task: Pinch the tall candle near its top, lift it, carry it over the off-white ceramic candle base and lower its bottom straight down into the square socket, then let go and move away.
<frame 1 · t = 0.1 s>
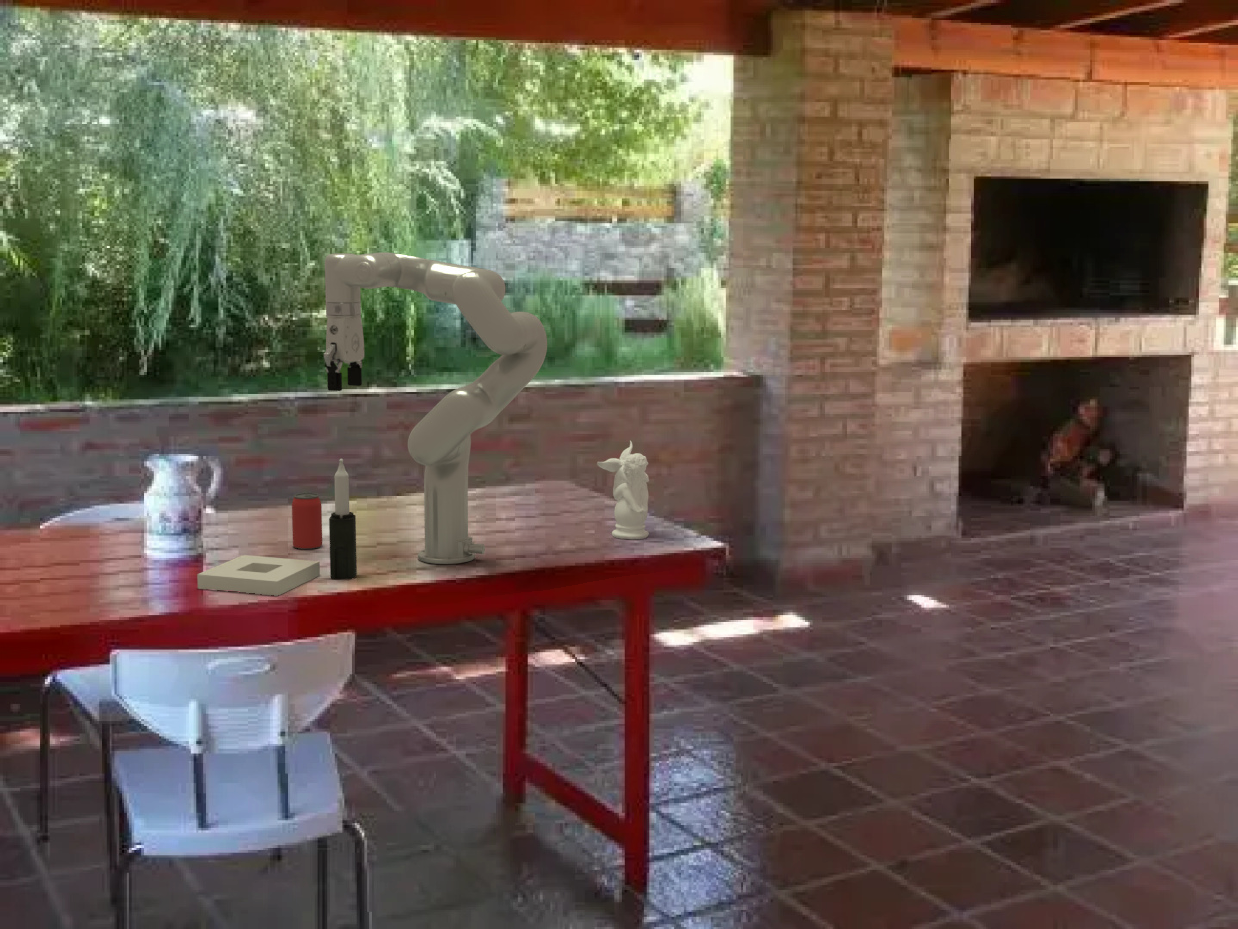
hand: (344, 387, 345), 37 cm above the table, tool pointing down, fingers open, 9 cm apart
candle: (343, 577, 328), on the table
candle base: (260, 581, 323), on the table
cherub figurine: (622, 536, 370), on the table
beer can: (307, 547, 355), on the table
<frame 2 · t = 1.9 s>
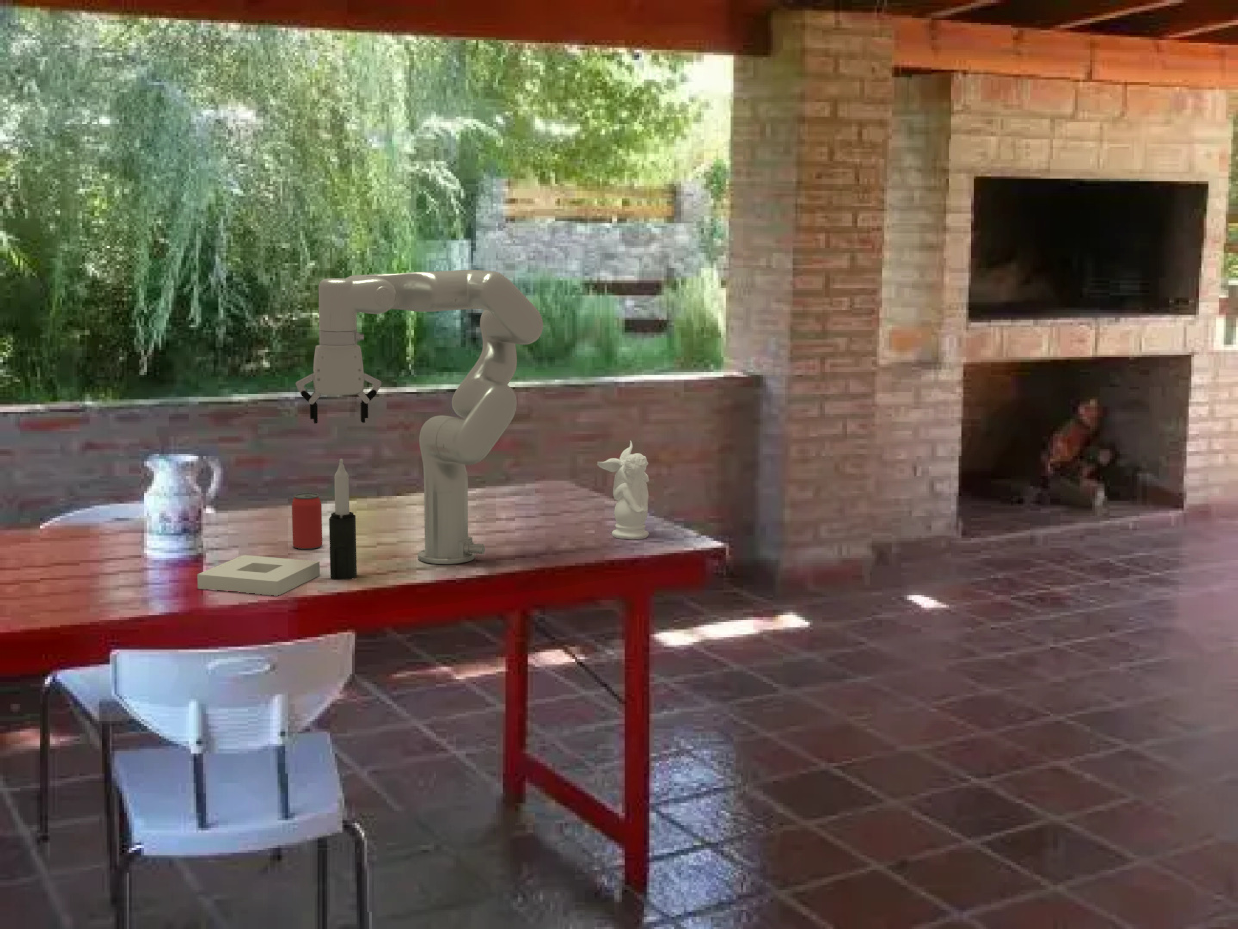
hand: (339, 422, 322), 33 cm above the table, tool pointing down, fingers open, 9 cm apart
nothing on the table moved.
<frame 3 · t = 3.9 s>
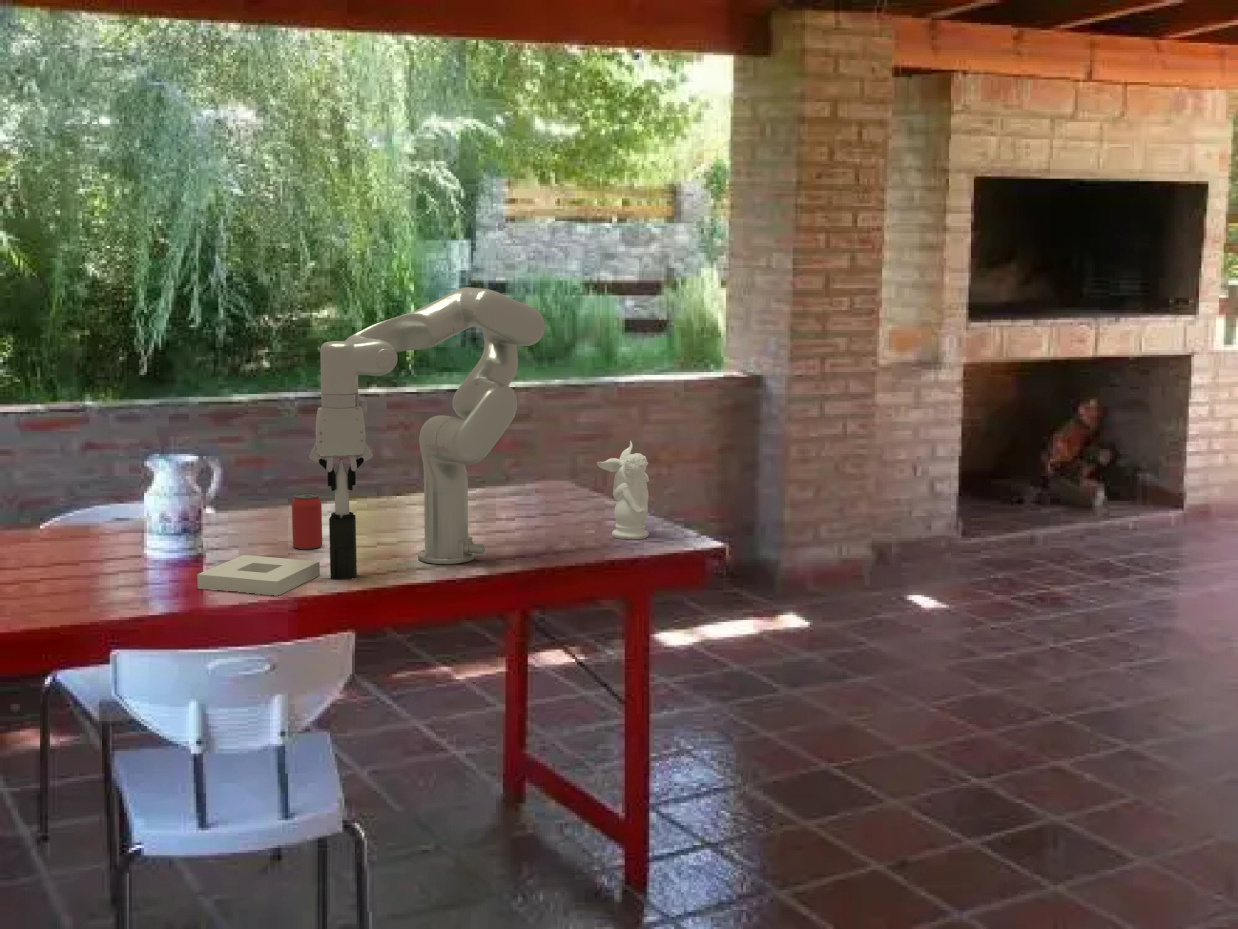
hand: (341, 488, 325), 19 cm above the table, tool pointing down, fingers closed on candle, 3 cm apart
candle: (343, 577, 328), on the table, touching gripper
everything else where it was.
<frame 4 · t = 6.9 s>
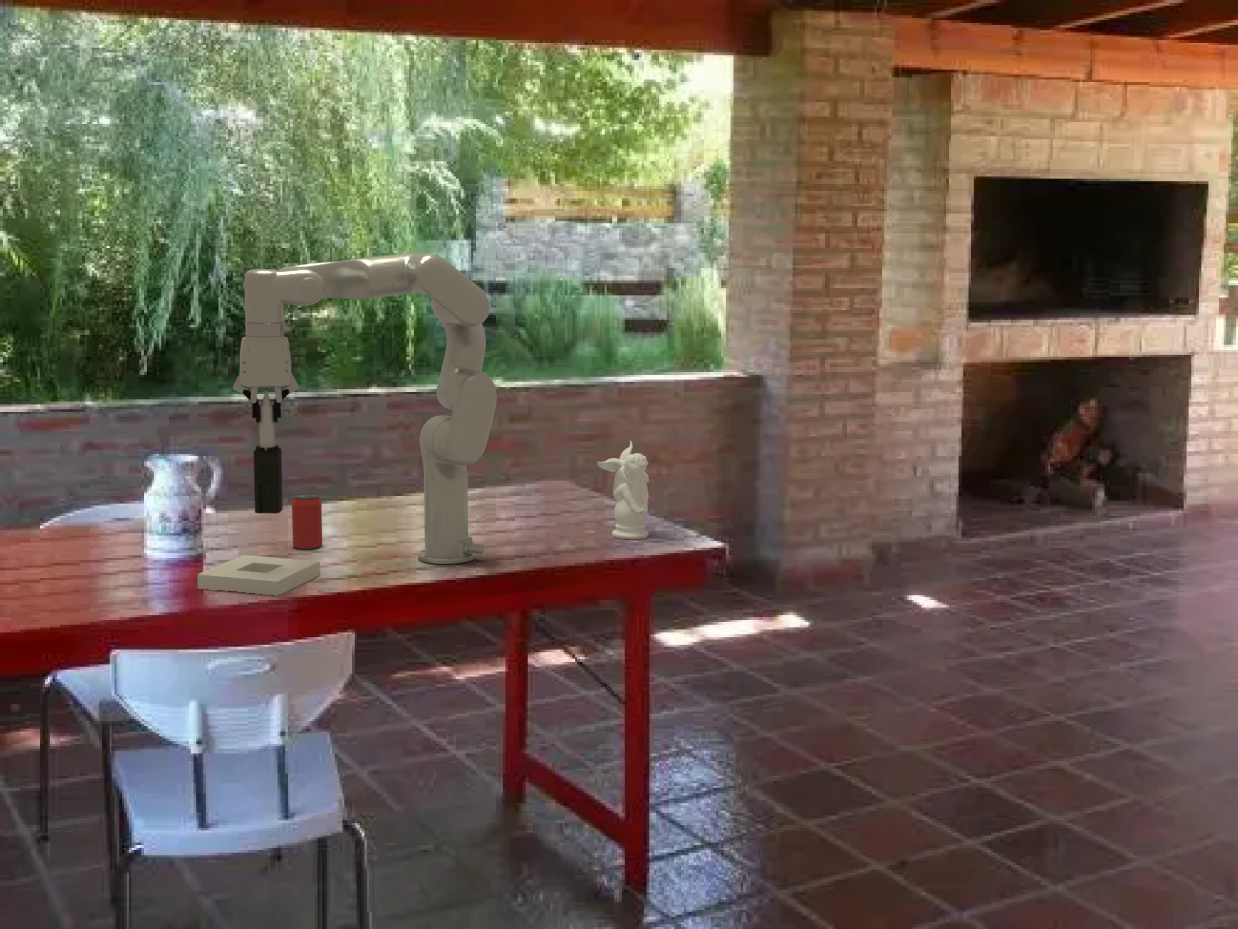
hand: (266, 420, 318), 33 cm above the table, tool pointing down, fingers closed on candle, 3 cm apart
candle: (268, 512, 321), point 15 cm above the table, touching gripper
everything else where it was.
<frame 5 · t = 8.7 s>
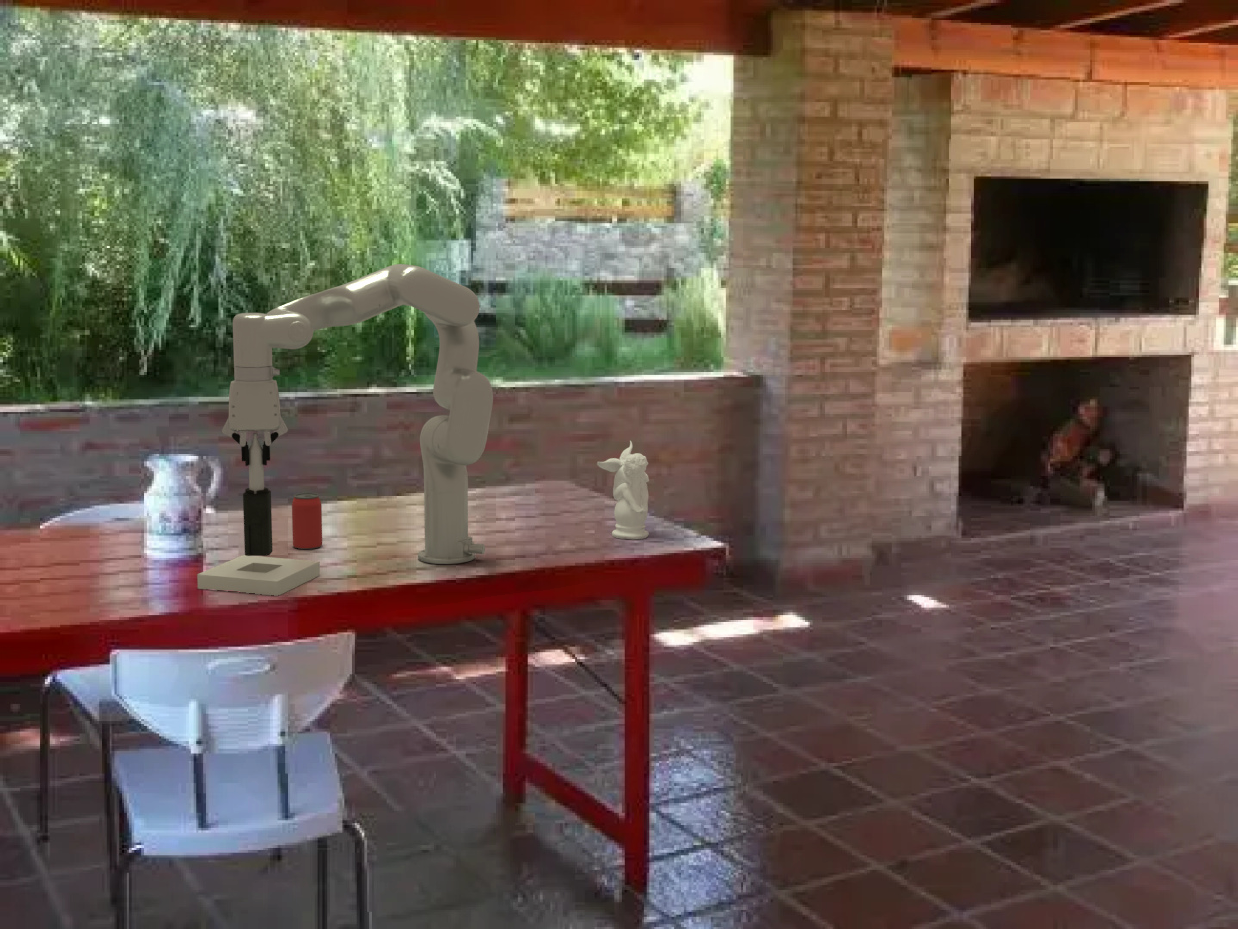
hand: (256, 463, 318), 25 cm above the table, tool pointing down, fingers closed on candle, 3 cm apart
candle: (258, 554, 322), point 6 cm above the table, touching gripper
everything else where it was.
when the fingers open (20 cm above the table, at t = 10.0 s): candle drops 1 cm, resting in candle base.
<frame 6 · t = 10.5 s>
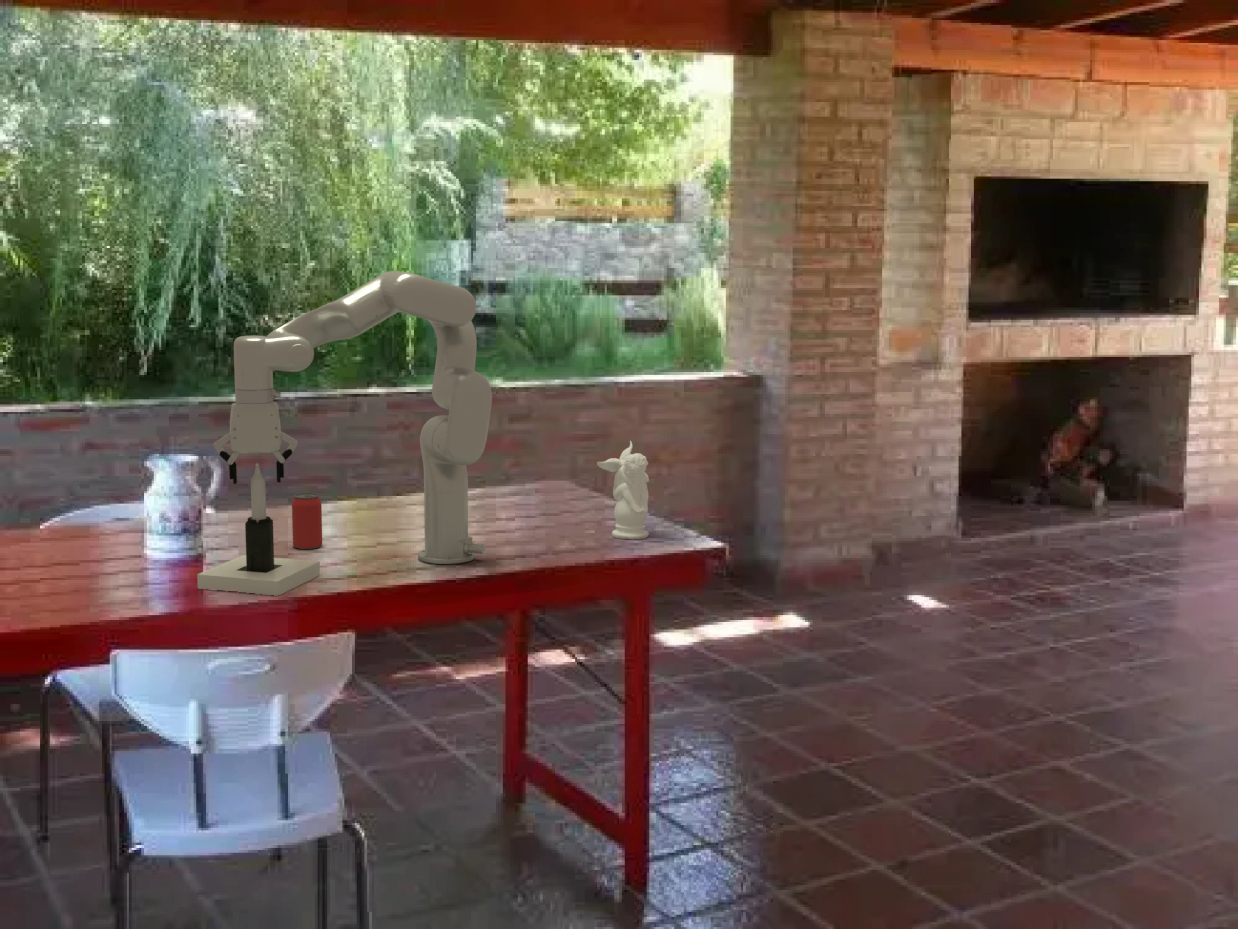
hand: (256, 481, 319), 21 cm above the table, tool pointing down, fingers open, 8 cm apart
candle: (260, 582, 323), resting in candle base
everything else where it was.
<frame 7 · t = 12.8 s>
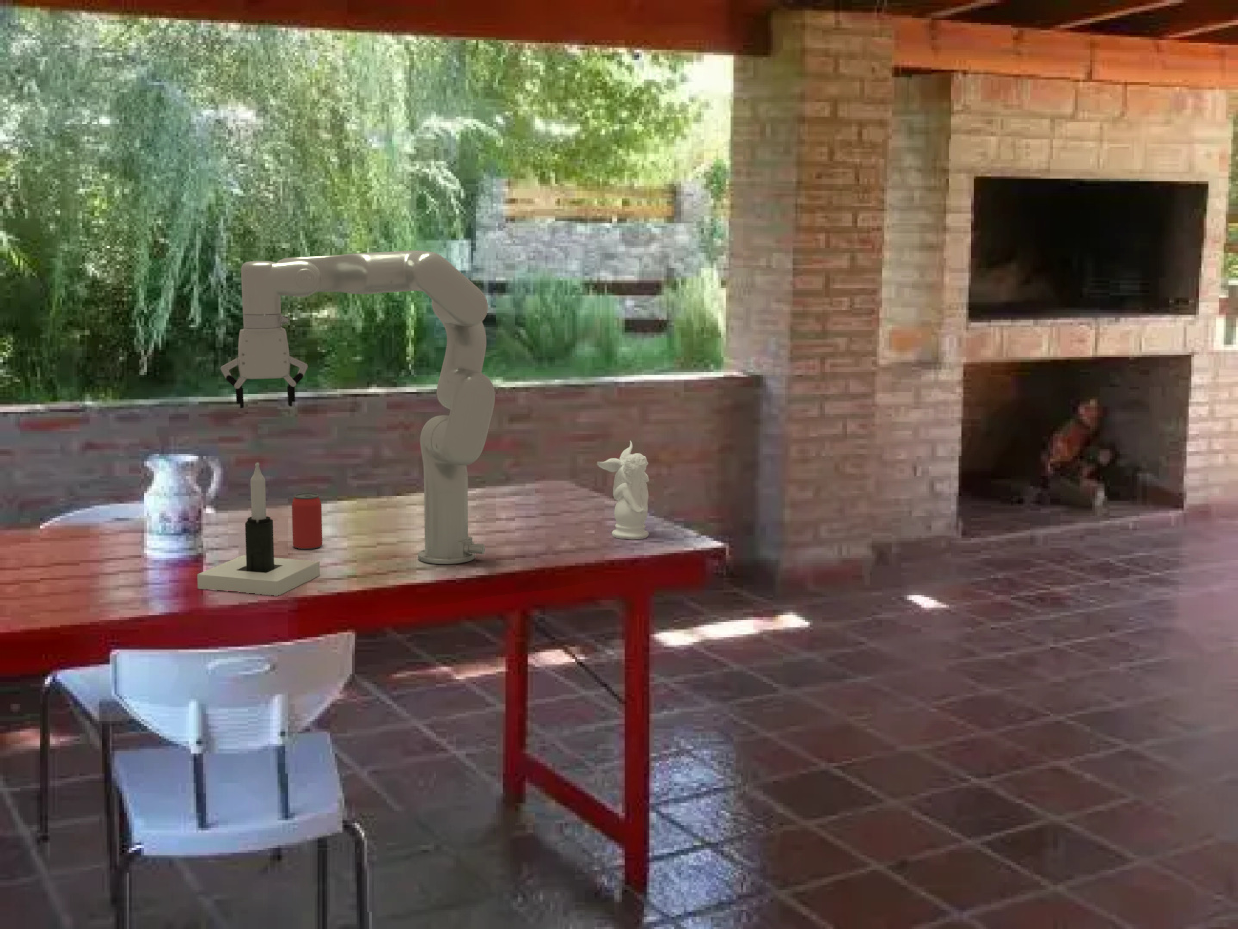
hand: (266, 406, 319), 36 cm above the table, tool pointing down, fingers open, 9 cm apart
nothing on the table moved.
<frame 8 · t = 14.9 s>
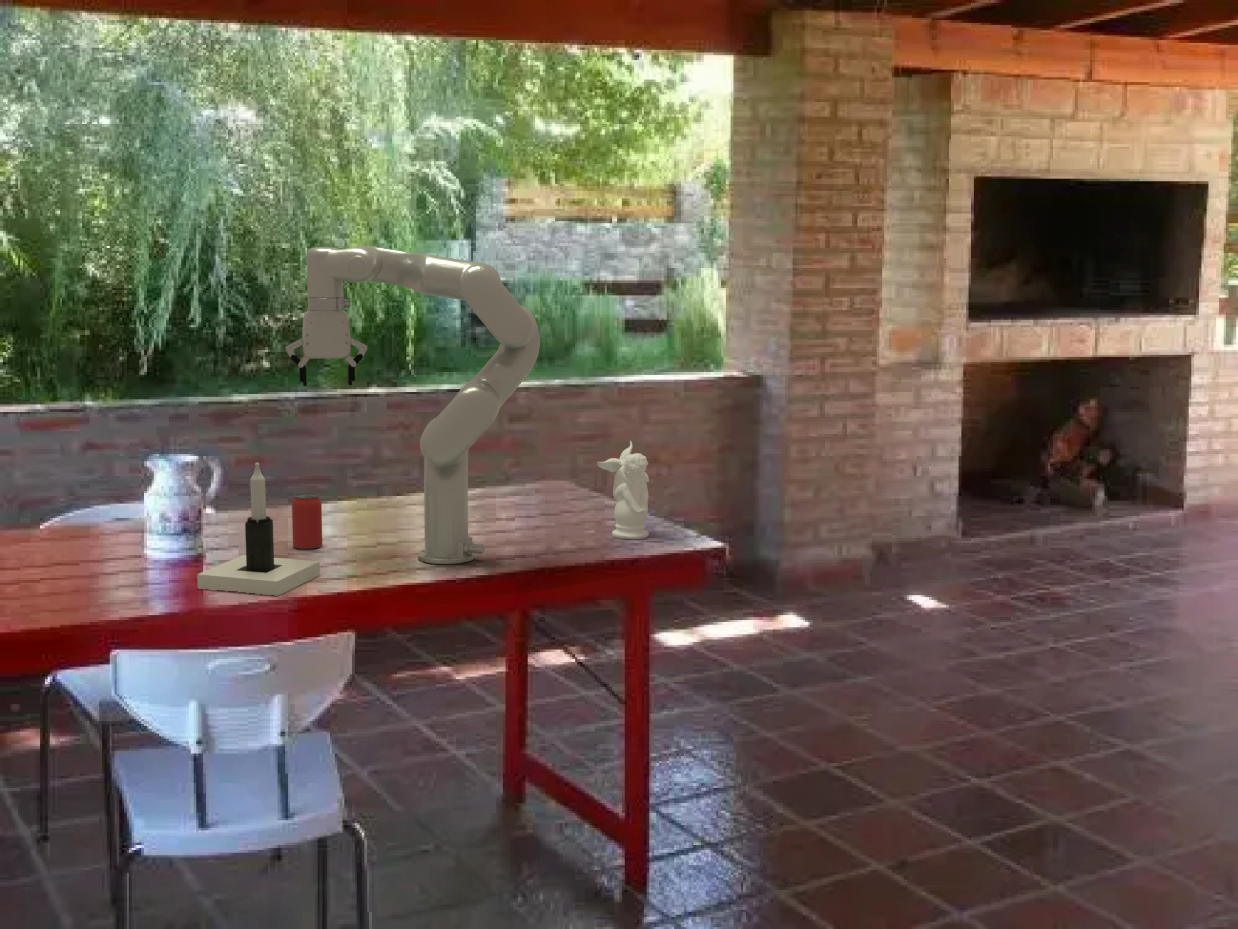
hand: (327, 384, 338), 38 cm above the table, tool pointing down, fingers open, 9 cm apart
nothing on the table moved.
at the end: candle 0.1 cm off-centre on the candle base, point 0.0 cm above the candle base's base; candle tilted 0°; the gripper is holding nothing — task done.
